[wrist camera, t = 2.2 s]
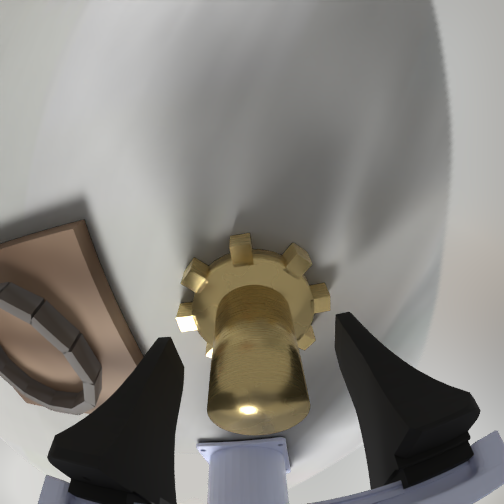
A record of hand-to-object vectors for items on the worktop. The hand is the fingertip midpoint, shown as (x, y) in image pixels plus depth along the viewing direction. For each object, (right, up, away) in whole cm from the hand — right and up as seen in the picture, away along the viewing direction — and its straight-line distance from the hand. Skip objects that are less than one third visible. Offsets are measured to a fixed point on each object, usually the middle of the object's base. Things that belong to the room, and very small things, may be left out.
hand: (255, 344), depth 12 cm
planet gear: (0, +1, +3) cm, 3 cm away
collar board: (-15, -2, +4) cm, 16 cm away
